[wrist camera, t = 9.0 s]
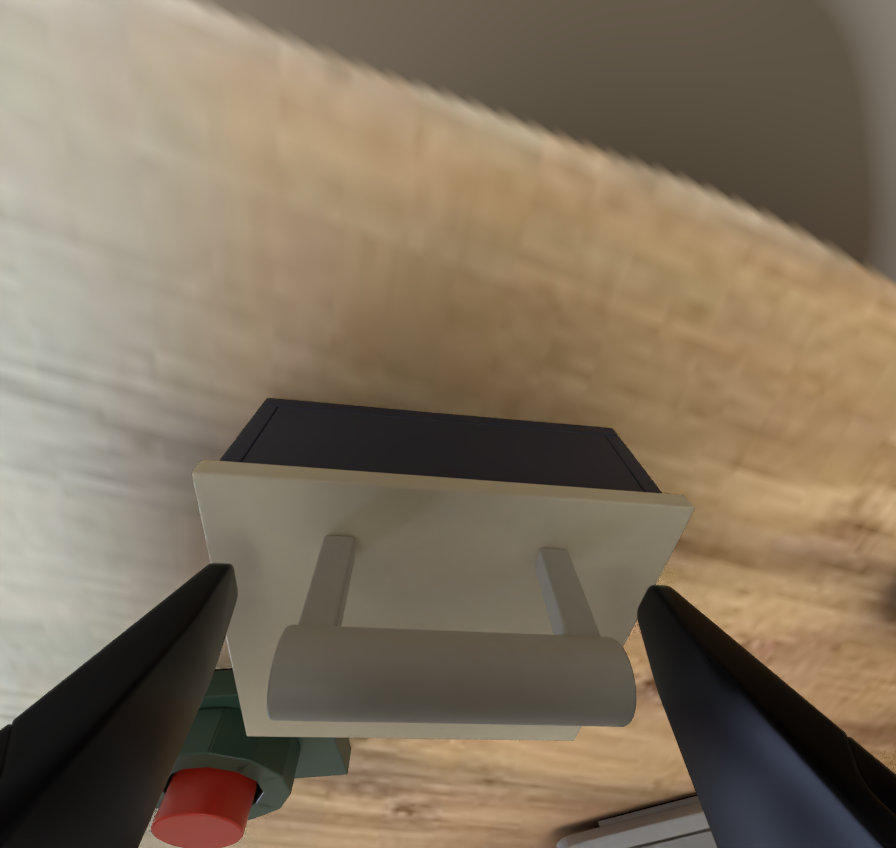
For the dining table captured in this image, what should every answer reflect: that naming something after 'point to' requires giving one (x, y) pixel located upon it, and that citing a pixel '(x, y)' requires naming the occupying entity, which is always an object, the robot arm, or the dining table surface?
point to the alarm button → (204, 808)
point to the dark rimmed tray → (437, 446)
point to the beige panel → (431, 600)
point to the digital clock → (649, 829)
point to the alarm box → (254, 749)
